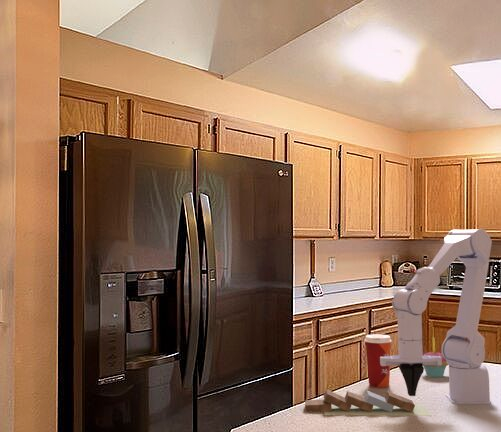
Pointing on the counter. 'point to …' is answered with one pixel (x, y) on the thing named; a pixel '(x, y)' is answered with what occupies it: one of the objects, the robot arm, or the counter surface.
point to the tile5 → (317, 406)
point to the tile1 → (399, 401)
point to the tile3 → (358, 401)
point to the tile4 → (336, 400)
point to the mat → (380, 411)
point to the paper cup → (378, 359)
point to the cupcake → (435, 369)
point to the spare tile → (378, 401)
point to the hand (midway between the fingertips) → (411, 395)
